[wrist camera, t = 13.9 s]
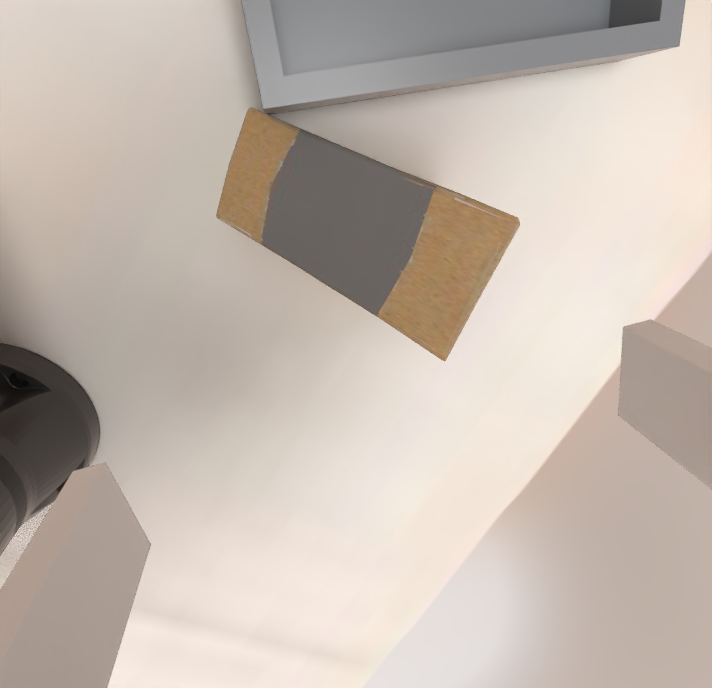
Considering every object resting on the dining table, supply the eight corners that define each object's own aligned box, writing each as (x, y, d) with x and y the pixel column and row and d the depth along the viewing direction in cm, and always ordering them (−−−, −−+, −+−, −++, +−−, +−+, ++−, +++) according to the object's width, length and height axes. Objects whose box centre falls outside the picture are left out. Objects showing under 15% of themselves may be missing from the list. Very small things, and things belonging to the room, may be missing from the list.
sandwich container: (247, 101, 32) (215, 71, 18) (437, 188, 36) (526, 217, 22) (212, 218, 35) (162, 268, 21) (392, 287, 39) (447, 365, 25)
